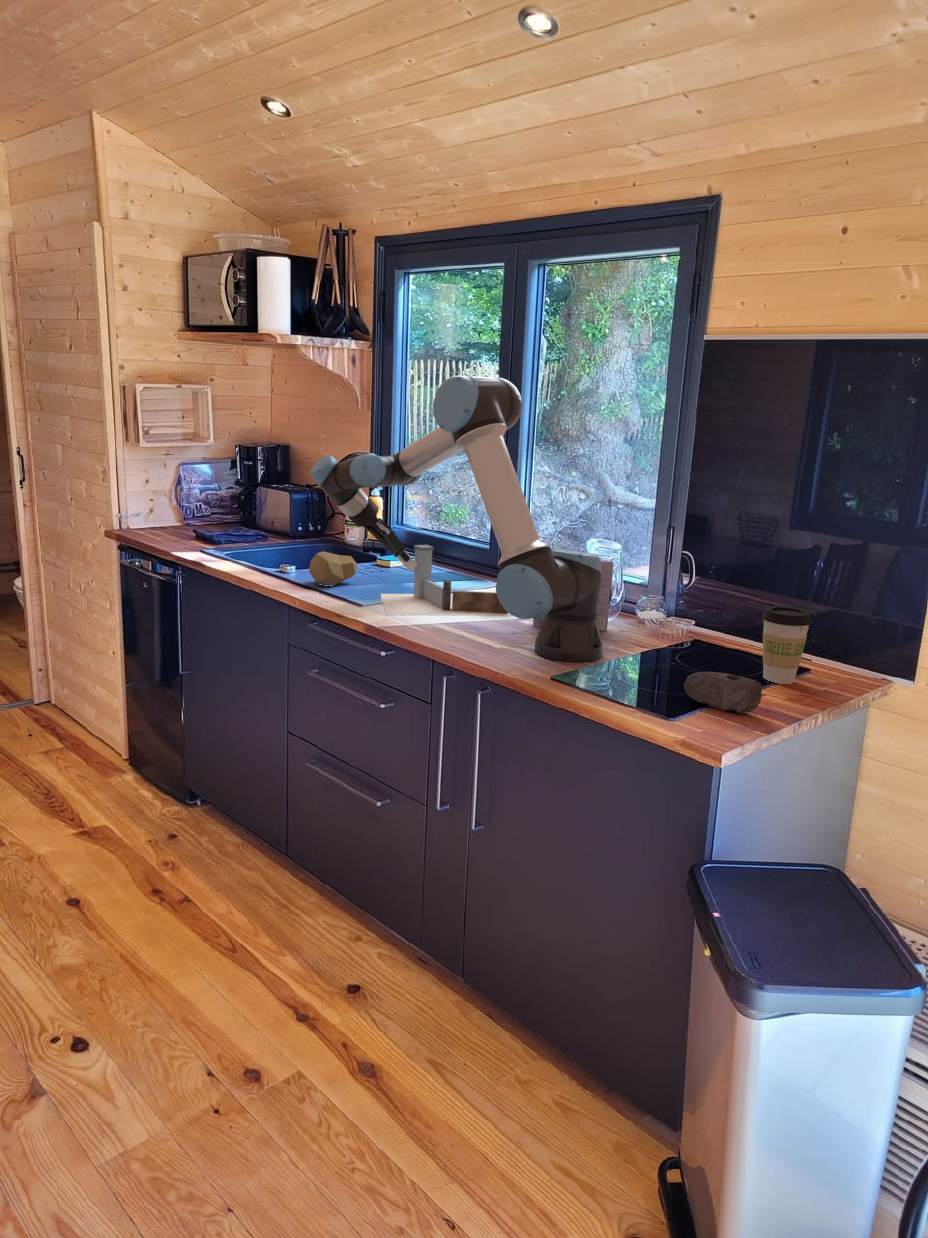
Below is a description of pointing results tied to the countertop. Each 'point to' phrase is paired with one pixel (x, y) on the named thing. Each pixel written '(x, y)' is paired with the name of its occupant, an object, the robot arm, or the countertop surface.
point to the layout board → (422, 606)
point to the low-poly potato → (332, 568)
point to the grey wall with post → (426, 576)
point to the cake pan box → (604, 597)
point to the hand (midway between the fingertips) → (413, 567)
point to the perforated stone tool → (724, 691)
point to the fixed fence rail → (471, 600)
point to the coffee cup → (783, 642)
